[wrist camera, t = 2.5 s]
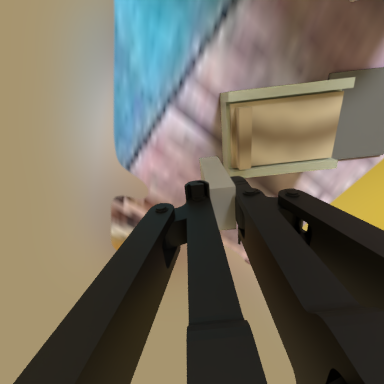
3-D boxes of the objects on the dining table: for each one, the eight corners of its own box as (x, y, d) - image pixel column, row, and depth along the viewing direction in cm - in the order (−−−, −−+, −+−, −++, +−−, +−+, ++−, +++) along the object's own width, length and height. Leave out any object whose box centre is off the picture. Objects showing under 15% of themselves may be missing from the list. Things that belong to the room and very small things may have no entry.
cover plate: (229, 103, 28) (235, 104, 24) (338, 91, 27) (358, 90, 24) (230, 165, 31) (236, 173, 28) (326, 155, 31) (342, 161, 28)
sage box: (219, 93, 31) (228, 91, 25) (321, 81, 31) (355, 76, 25) (222, 166, 36) (230, 179, 30) (310, 156, 36) (336, 168, 30)
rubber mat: (329, 73, 31) (331, 73, 30) (408, 64, 30) (410, 64, 30) (315, 161, 36) (316, 161, 36) (381, 154, 36) (383, 154, 36)
